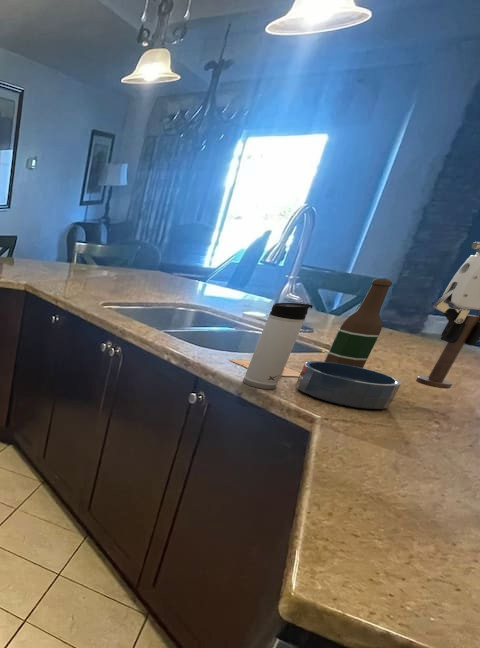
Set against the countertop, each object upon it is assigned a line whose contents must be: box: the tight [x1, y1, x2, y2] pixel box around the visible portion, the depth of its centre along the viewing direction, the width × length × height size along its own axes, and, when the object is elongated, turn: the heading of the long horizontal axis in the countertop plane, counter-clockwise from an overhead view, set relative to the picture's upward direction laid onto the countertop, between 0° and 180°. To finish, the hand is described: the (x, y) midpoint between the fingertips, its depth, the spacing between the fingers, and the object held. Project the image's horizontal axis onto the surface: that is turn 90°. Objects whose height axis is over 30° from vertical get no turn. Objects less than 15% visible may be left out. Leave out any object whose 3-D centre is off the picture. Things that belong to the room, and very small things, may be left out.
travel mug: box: [242, 302, 313, 390], centre depth 113 cm, size 6×7×20 cm
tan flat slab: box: [229, 359, 301, 377], centre depth 128 cm, size 12×12×4 cm
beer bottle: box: [324, 278, 393, 368], centre depth 124 cm, size 8×8×24 cm
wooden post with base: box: [415, 314, 480, 390], centre depth 102 cm, size 5×5×15 cm
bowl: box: [294, 360, 402, 410], centre depth 110 cm, size 16×16×6 cm
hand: (457, 341), depth 101 cm, fingers closed on wooden post with base
